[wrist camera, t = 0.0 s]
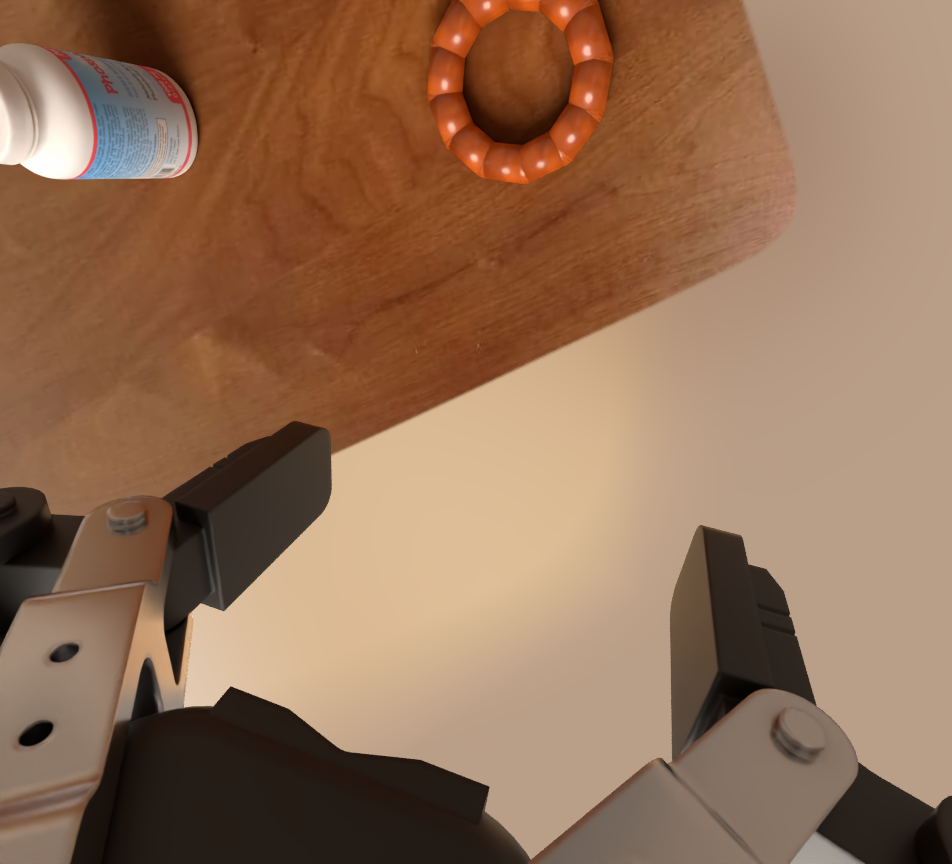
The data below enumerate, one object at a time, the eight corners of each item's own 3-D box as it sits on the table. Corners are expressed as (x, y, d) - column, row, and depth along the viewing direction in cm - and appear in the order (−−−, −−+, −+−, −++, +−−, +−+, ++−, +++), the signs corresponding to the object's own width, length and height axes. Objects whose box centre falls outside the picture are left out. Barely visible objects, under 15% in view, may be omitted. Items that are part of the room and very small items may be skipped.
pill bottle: (200, 78, 33) (5, 39, 23) (205, 187, 36) (34, 193, 26) (117, 59, 34) (-102, 15, 24) (129, 167, 37) (-63, 165, 27)
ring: (443, -36, 27) (429, -49, 25) (632, -28, 25) (630, -41, 23) (430, 170, 31) (418, 170, 29) (591, 192, 29) (587, 193, 27)
